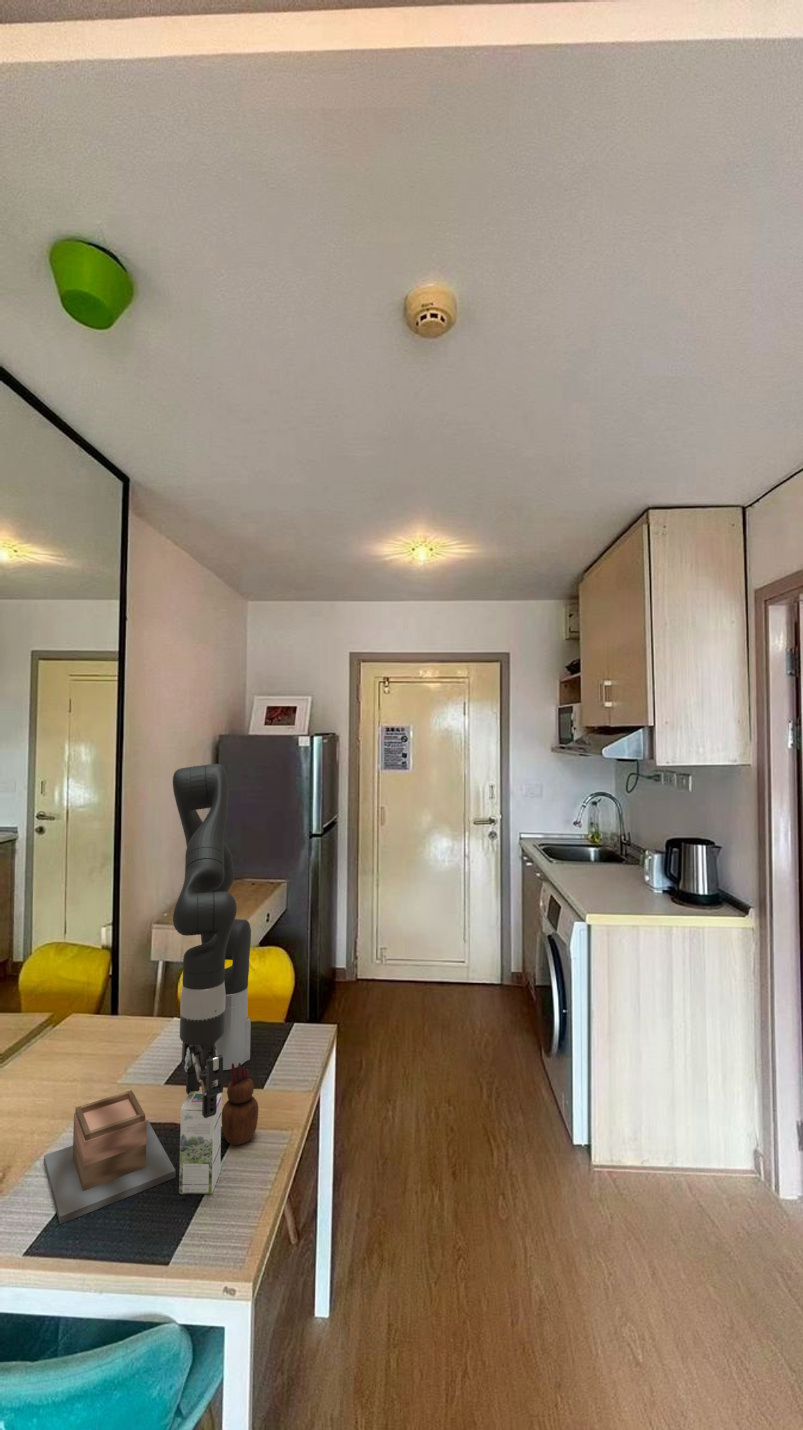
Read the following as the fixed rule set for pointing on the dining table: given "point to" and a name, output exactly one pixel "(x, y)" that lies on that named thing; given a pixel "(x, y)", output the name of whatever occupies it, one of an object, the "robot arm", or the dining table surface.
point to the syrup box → (199, 1146)
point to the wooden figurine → (240, 1108)
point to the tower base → (105, 1191)
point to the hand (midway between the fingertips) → (200, 1104)
